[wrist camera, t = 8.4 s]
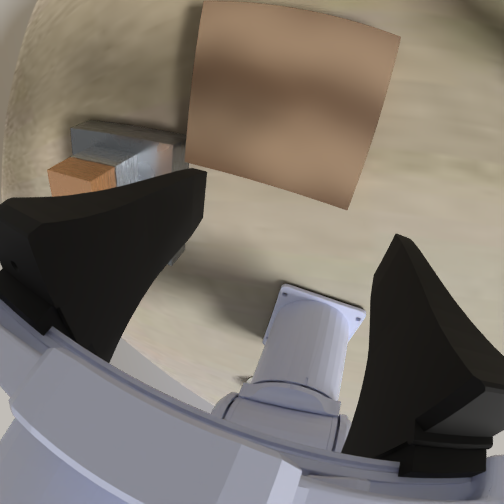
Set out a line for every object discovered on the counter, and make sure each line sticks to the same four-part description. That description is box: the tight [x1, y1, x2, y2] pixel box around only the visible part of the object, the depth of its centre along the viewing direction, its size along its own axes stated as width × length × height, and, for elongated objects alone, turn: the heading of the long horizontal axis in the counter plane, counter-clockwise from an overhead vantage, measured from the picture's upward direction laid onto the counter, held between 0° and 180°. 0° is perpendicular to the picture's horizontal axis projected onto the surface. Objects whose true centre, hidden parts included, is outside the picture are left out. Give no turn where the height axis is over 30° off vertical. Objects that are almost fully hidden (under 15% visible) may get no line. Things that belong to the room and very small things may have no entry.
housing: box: [47, 146, 138, 197], centre depth 21 cm, size 8×5×5 cm, turn 171°
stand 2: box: [185, 1, 401, 210], centre depth 16 cm, size 11×11×2 cm
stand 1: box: [71, 120, 189, 266], centre depth 24 cm, size 11×11×2 cm
